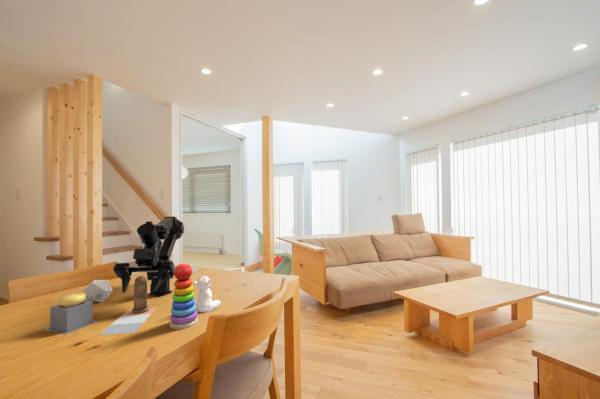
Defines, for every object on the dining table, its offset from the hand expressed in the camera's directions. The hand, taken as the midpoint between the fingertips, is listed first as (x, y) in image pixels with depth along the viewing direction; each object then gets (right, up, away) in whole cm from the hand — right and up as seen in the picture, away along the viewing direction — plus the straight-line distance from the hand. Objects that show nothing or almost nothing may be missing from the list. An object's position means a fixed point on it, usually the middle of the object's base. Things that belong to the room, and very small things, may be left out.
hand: (138, 291), depth 91 cm
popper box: (-14, -8, -10) cm, 19 cm away
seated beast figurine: (+21, -8, +4) cm, 23 cm away
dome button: (-14, -6, -10) cm, 18 cm away
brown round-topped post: (0, -7, +1) cm, 7 cm away
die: (-23, -8, +13) cm, 28 cm away
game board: (+1, -8, -5) cm, 9 cm away
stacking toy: (+18, -8, -8) cm, 22 cm away
